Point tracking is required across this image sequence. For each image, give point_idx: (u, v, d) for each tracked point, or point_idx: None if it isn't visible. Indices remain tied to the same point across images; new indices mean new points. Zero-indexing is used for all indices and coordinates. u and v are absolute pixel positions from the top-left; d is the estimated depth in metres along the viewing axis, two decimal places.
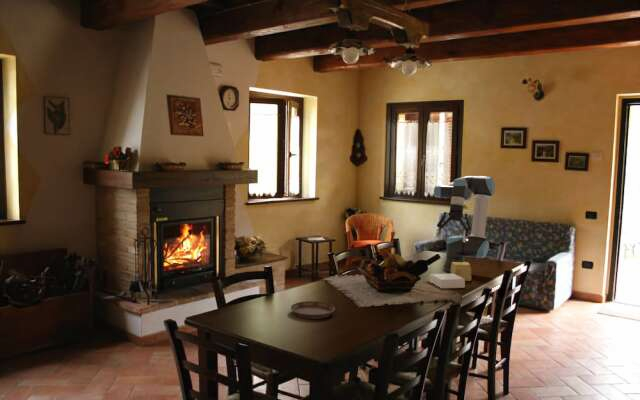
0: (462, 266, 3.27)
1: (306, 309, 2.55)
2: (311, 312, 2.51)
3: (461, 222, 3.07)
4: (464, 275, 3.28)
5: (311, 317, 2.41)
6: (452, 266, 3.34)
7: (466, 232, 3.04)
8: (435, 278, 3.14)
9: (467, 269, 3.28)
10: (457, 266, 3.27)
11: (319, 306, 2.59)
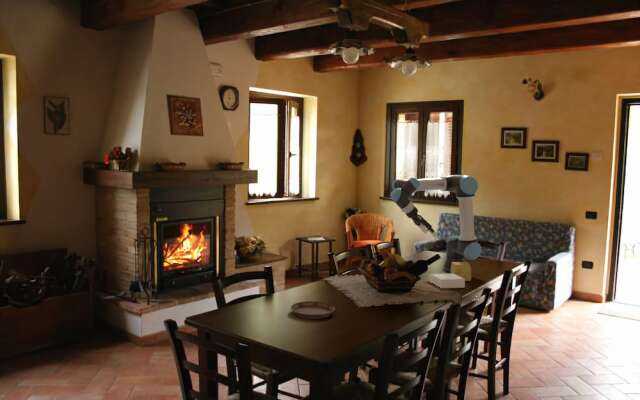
0: (462, 266, 3.27)
1: (306, 309, 2.55)
2: (311, 312, 2.51)
3: (421, 223, 3.23)
4: (464, 275, 3.28)
5: (311, 317, 2.41)
6: (452, 266, 3.34)
7: (430, 230, 3.21)
8: (435, 278, 3.14)
9: (467, 269, 3.28)
10: (457, 266, 3.27)
11: (318, 306, 2.59)
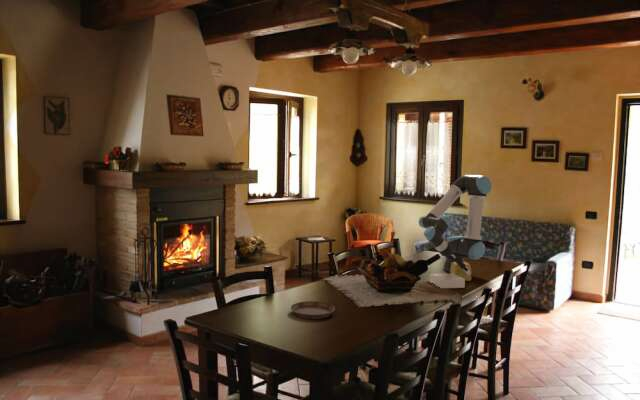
0: None
1: (306, 309, 2.55)
2: (311, 312, 2.51)
3: None
4: (464, 274, 3.28)
5: (311, 317, 2.41)
6: (452, 266, 3.34)
7: (464, 269, 3.25)
8: (435, 278, 3.14)
9: None
10: (457, 266, 3.27)
11: (318, 306, 2.59)
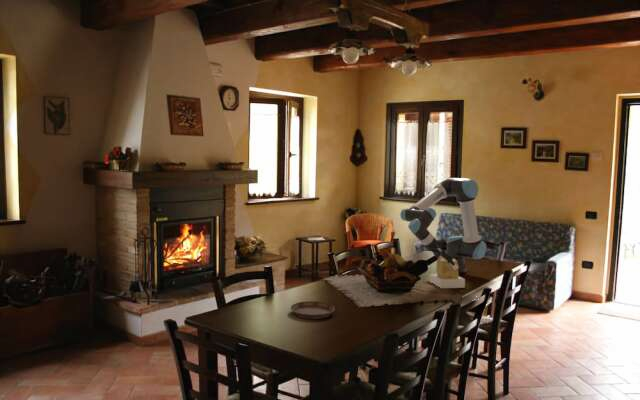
0: None
1: (306, 309, 2.55)
2: (311, 312, 2.51)
3: (441, 256, 3.09)
4: (451, 272, 3.11)
5: (311, 317, 2.41)
6: (438, 263, 3.16)
7: (450, 263, 3.07)
8: (435, 278, 3.14)
9: None
10: (444, 263, 3.10)
11: (318, 306, 2.59)
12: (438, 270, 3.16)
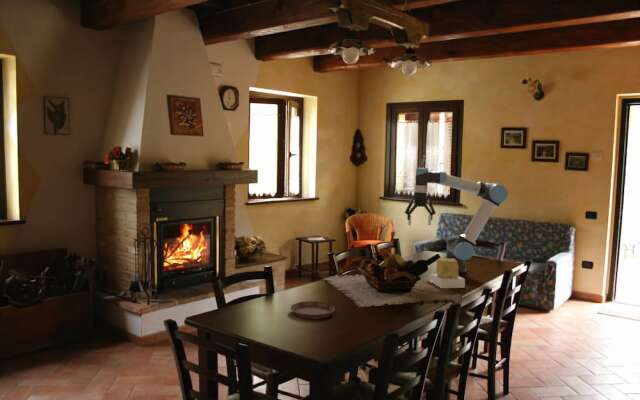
0: (449, 263, 3.10)
1: (306, 309, 2.55)
2: (311, 312, 2.51)
3: None
4: (451, 272, 3.11)
5: (311, 317, 2.41)
6: (438, 263, 3.16)
7: None
8: (435, 278, 3.14)
9: (454, 266, 3.10)
10: (444, 263, 3.10)
11: (318, 306, 2.59)
12: (438, 270, 3.16)
